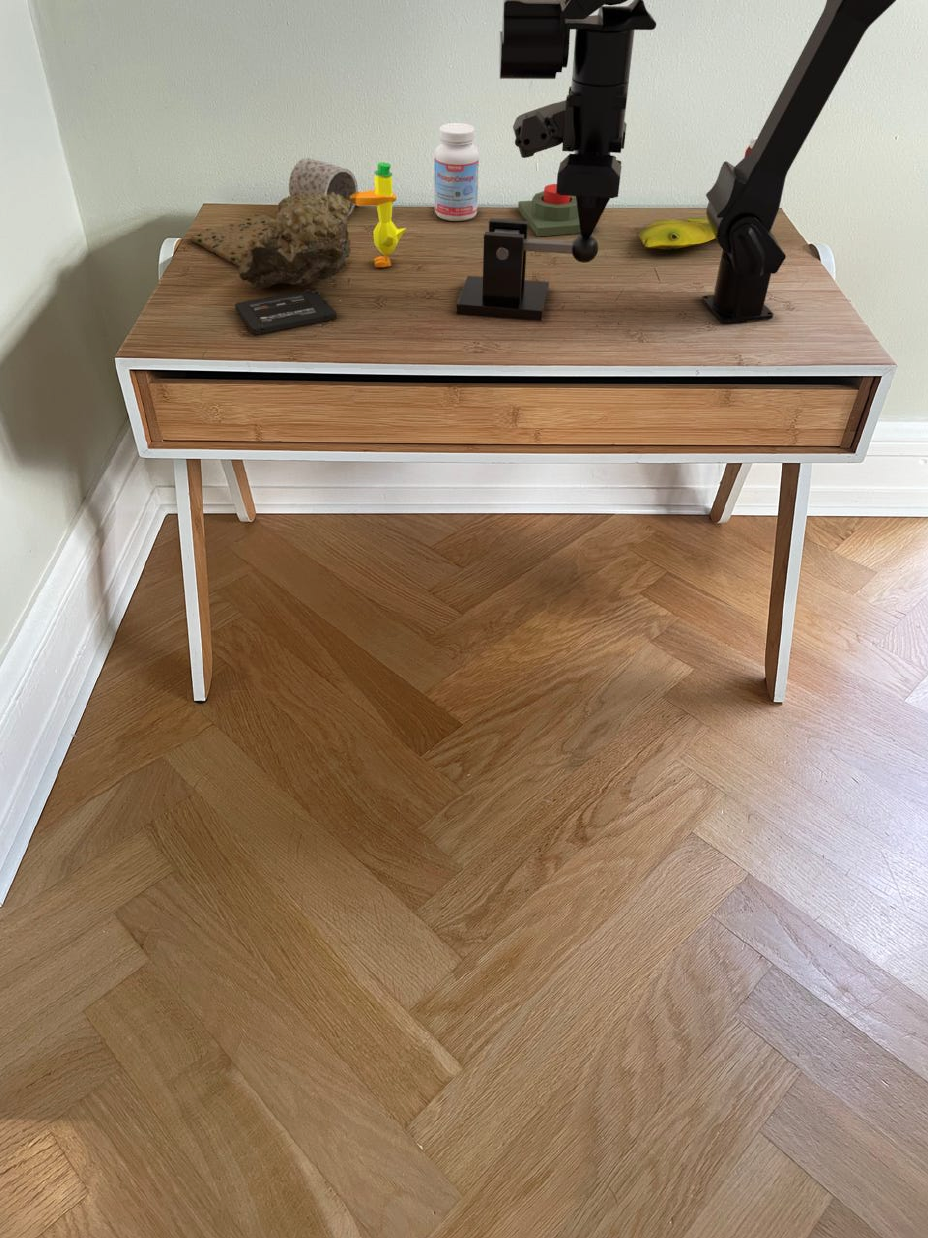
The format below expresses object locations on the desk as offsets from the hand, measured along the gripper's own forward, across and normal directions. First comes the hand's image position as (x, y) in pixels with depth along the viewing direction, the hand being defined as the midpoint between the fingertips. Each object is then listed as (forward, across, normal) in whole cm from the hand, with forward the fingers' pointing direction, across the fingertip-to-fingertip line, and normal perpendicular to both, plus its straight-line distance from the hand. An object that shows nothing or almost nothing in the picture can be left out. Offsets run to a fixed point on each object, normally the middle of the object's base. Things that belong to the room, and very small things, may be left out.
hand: (586, 234), depth 106 cm
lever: (+3, 0, -4) cm, 5 cm away
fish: (+8, -24, +7) cm, 27 cm away
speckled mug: (+6, -26, -40) cm, 48 cm away
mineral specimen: (+8, -4, -34) cm, 36 cm away
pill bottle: (+9, -27, -19) cm, 34 cm away
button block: (+9, -27, -5) cm, 29 cm away
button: (+6, -27, -5) cm, 28 cm away
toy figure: (+8, -8, -26) cm, 28 cm away
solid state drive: (+7, +8, -33) cm, 35 cm away
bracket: (+9, 0, -9) cm, 12 cm away
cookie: (+9, -12, -44) cm, 46 cm away
